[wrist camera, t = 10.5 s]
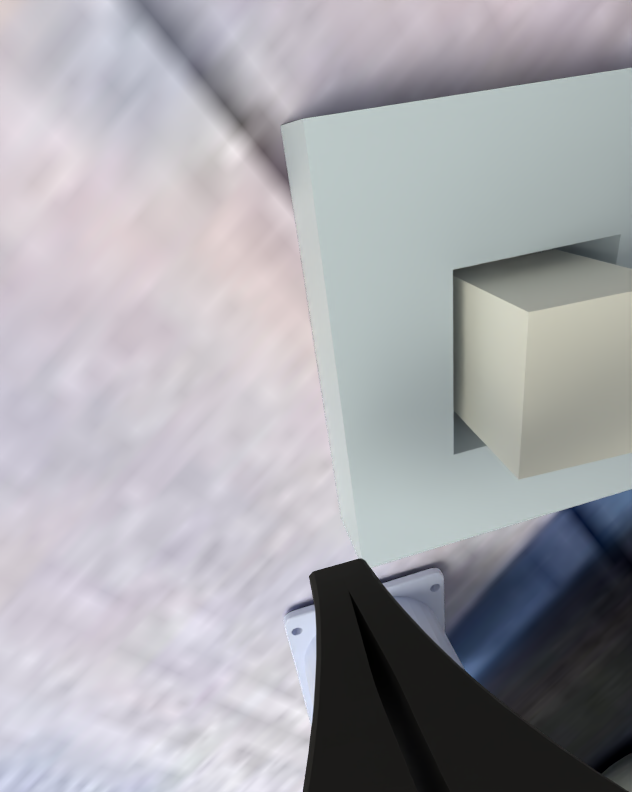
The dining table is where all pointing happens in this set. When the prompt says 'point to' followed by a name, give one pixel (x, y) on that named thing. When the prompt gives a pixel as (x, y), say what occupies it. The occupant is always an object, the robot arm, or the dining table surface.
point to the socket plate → (445, 287)
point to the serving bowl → (621, 772)
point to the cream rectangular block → (544, 359)
